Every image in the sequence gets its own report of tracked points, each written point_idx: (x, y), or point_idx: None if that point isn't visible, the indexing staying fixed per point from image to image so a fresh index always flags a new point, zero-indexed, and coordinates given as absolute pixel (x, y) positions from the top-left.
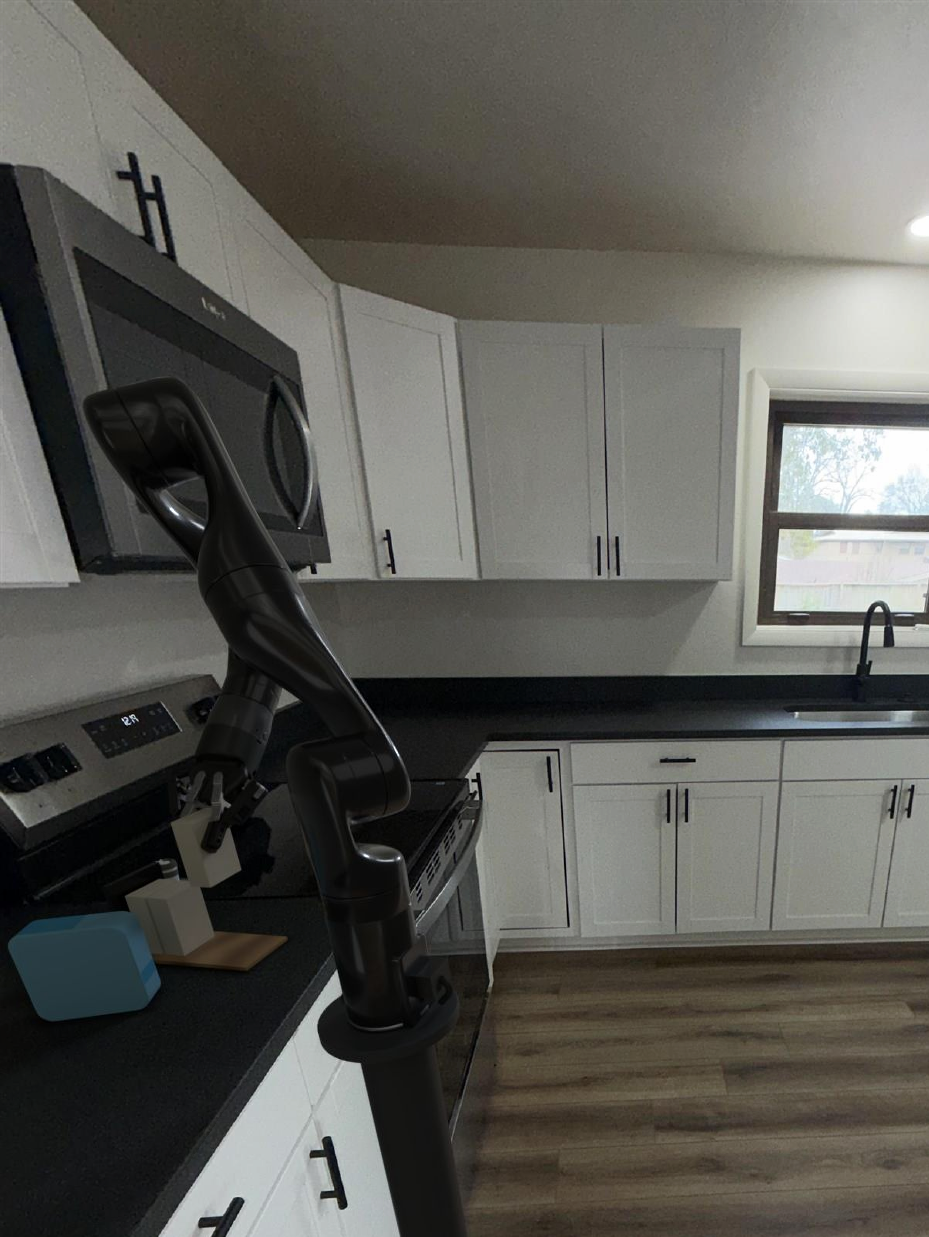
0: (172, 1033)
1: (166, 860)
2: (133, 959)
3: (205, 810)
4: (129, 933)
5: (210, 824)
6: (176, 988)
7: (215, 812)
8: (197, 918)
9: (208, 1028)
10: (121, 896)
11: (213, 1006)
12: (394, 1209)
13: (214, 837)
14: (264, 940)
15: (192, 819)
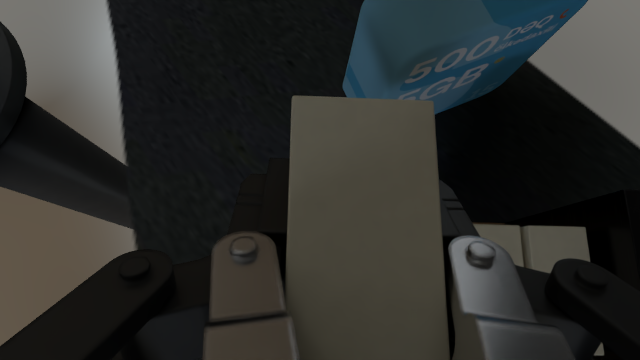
0: (260, 43)
1: None
2: (353, 41)
3: (398, 354)
4: (367, 23)
5: (268, 219)
6: None
7: (251, 273)
8: None
9: (214, 58)
10: (596, 229)
11: (246, 110)
12: (122, 163)
13: (243, 196)
14: None
15: (342, 163)
